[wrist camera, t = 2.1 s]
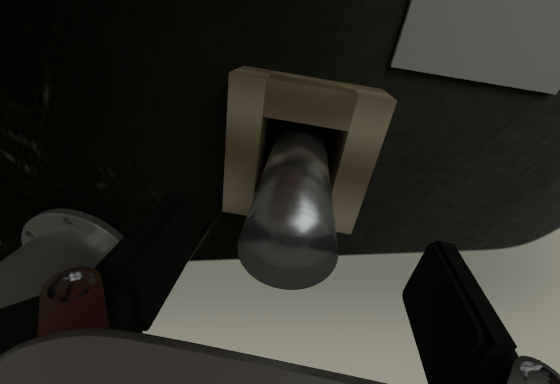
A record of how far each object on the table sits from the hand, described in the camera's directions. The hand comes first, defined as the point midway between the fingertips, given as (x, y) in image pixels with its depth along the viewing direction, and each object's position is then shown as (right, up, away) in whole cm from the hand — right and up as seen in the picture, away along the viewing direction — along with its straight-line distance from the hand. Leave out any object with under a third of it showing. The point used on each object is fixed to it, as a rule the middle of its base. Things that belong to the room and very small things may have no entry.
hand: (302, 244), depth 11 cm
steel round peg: (+1, +6, +11) cm, 13 cm away
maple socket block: (+1, +6, +11) cm, 13 cm away
